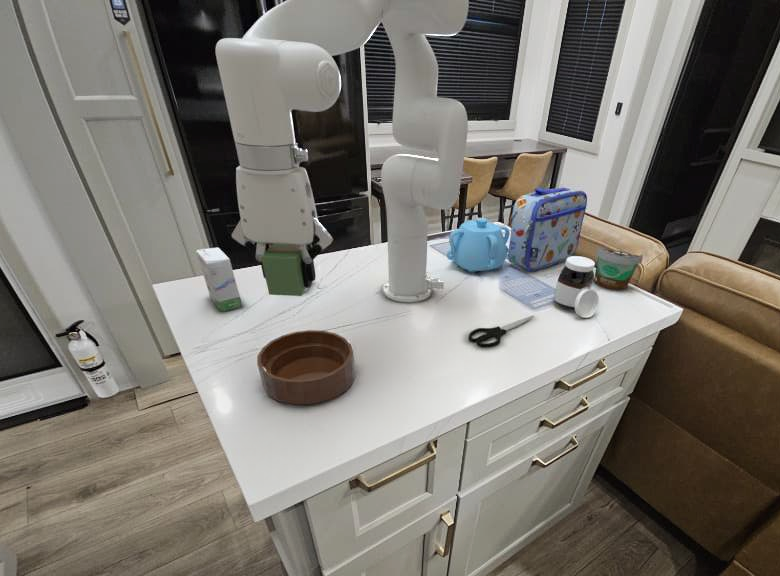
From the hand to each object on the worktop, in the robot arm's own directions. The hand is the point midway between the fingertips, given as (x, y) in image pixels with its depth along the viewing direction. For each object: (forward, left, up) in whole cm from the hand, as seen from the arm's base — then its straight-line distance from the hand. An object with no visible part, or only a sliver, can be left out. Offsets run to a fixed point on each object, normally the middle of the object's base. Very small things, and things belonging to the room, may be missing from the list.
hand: (291, 282), depth 67 cm
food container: (-74, -46, -19) cm, 89 cm away
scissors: (-40, -19, -18) cm, 48 cm away
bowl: (-1, +1, -18) cm, 18 cm away
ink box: (+25, -27, -19) cm, 41 cm away
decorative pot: (-37, -57, -19) cm, 70 cm away
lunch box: (-57, -62, -19) cm, 86 cm away
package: (0, 0, -1) cm, 1 cm away
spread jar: (-60, -32, -19) cm, 70 cm away
